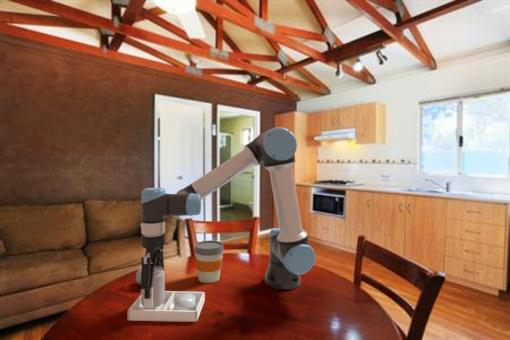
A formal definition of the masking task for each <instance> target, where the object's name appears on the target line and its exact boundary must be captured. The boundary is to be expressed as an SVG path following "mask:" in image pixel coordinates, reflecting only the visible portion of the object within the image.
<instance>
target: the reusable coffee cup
mask: <svg viewBox="0 0 510 340" xmlns="http://www.w3.org/2000/svg"><path fill="white" fill-rule="evenodd" d="M224 248H225V247H224V243H223V242H222V241H219V240H202V241H199V242H197V243H196V244H195V245H194V253H195V258H194V259H195V267H196V270H197V276H198V281H199V282H200V283H205V284H212V283H215V282H217V281H219V280H220V275H221V270H222V267H223V262H224V260H223V259H224V256H223V253H224V251H225V250H224Z"/></svg>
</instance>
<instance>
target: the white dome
mask: <svg viewBox="0 0 510 340" xmlns="http://www.w3.org/2000/svg"><path fill="white" fill-rule="evenodd" d="M174 310H188V311H195V296H194V295H193V294H180V295H178V296H176V297H175V298H174Z"/></svg>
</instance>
